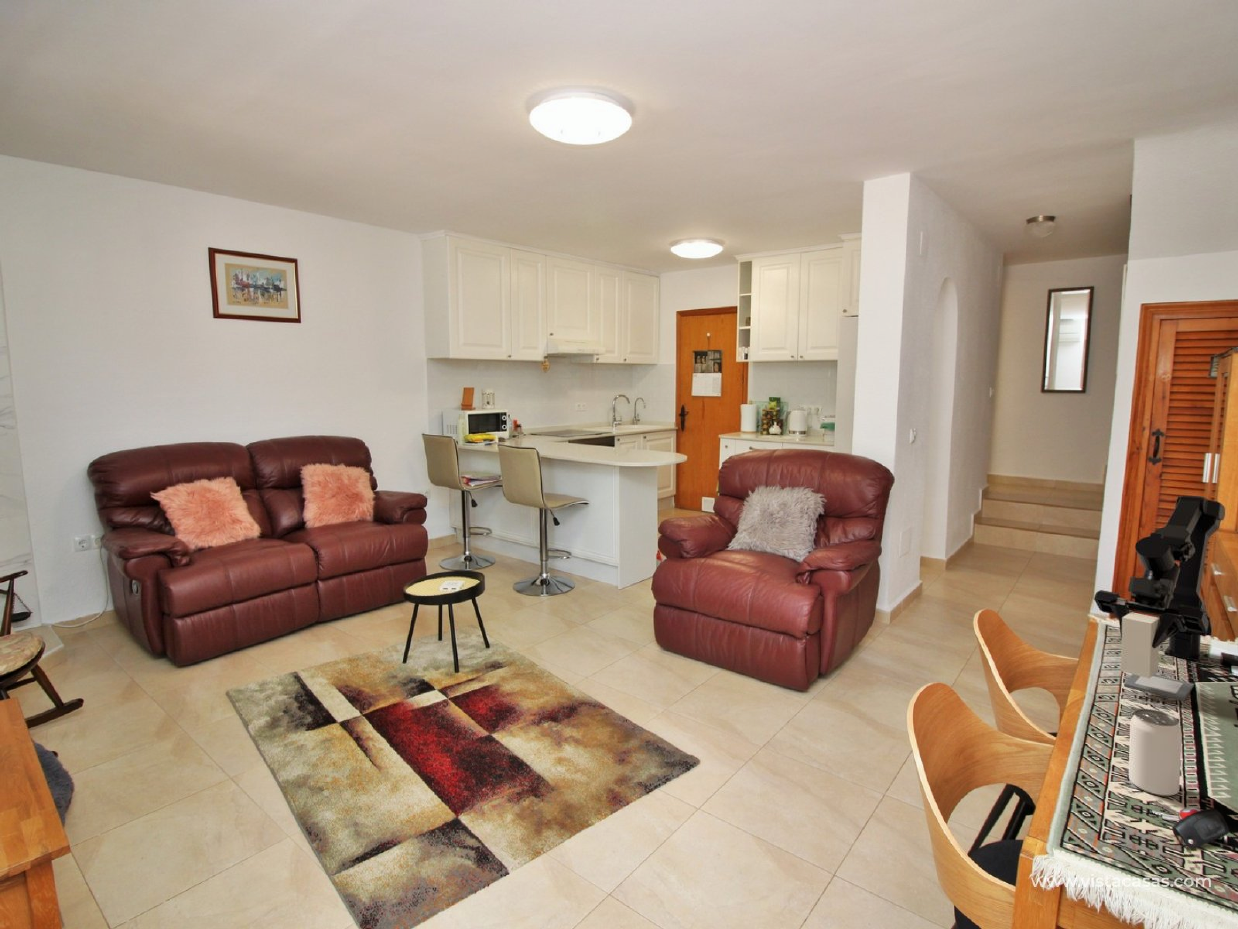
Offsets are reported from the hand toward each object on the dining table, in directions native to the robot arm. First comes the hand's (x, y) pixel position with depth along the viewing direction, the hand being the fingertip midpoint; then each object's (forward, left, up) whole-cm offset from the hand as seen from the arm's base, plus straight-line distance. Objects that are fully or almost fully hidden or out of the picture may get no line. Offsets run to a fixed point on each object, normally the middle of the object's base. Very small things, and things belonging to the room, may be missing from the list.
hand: (1137, 643), depth 136 cm
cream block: (-1, 0, -7) cm, 7 cm away
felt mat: (-8, +2, -11) cm, 14 cm away
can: (+37, +10, -11) cm, 40 cm away
